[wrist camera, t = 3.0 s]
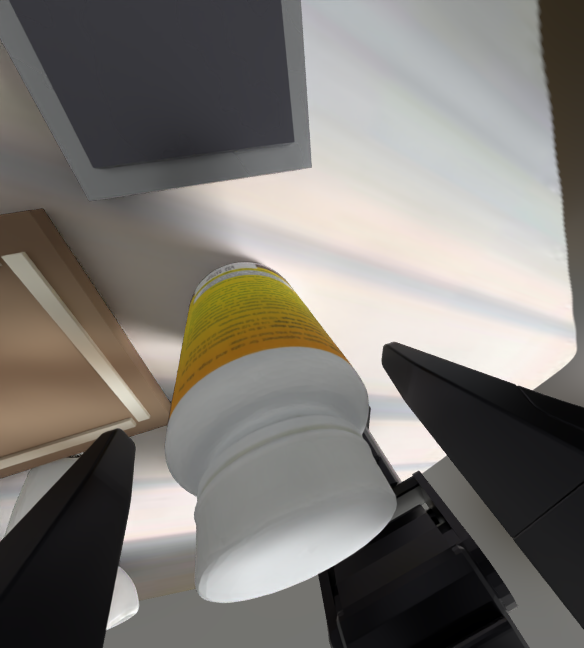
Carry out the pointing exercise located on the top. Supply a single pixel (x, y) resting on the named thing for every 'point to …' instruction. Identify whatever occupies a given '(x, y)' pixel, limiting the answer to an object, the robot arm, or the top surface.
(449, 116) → the top surface
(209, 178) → the pad
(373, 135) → the top surface
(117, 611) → the spoon rest
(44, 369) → the brown flat square
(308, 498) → the supplement bottle
